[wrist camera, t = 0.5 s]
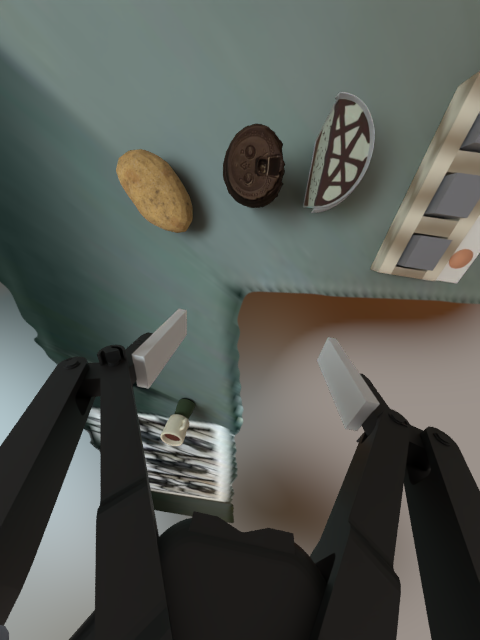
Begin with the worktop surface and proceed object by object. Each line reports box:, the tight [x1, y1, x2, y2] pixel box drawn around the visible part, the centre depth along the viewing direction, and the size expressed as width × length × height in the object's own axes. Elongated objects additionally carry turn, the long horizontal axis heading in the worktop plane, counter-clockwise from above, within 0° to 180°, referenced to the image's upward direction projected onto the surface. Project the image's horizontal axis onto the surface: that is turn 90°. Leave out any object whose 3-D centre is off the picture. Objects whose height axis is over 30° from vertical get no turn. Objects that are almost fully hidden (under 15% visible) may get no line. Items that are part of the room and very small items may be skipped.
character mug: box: [161, 399, 195, 446], centre depth 60 cm, size 11×7×13 cm, turn 134°
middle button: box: [424, 173, 480, 219], centre depth 28 cm, size 5×5×3 cm
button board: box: [370, 71, 480, 281], centre depth 30 cm, size 26×11×3 cm, turn 172°
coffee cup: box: [223, 124, 285, 208], centre depth 27 cm, size 9×8×13 cm
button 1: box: [397, 235, 452, 271], centre depth 33 cm, size 5×5×3 cm
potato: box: [116, 149, 193, 233], centre depth 32 cm, size 10×14×8 cm
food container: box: [303, 92, 375, 213], centre depth 27 cm, size 12×6×10 cm, turn 177°
